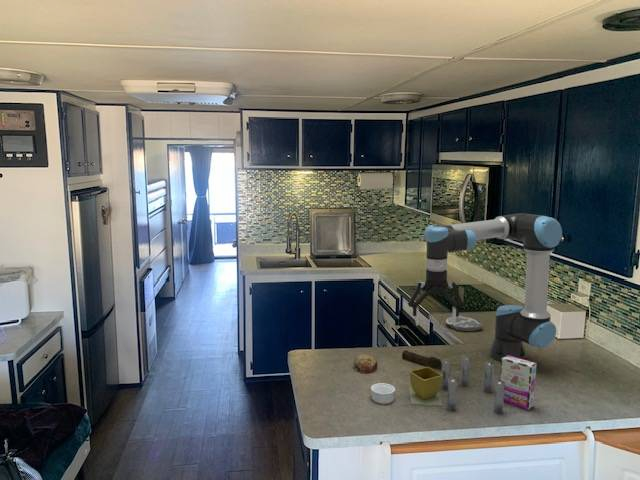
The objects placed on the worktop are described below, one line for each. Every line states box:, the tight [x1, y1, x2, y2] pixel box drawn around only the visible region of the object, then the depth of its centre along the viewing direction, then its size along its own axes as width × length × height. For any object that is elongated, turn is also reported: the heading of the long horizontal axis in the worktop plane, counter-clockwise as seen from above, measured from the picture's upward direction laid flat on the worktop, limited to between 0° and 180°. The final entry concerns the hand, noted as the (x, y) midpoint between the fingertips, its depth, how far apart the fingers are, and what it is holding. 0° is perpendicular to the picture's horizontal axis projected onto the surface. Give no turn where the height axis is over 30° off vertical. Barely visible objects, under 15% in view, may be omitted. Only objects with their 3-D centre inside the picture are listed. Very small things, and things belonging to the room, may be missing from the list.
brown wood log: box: [401, 349, 442, 371], centre depth 218 cm, size 19×4×5 cm, turn 45°
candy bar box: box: [499, 355, 538, 411], centre depth 183 cm, size 11×5×16 cm, turn 45°
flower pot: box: [409, 366, 443, 399], centre depth 188 cm, size 9×9×9 cm
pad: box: [408, 386, 443, 407], centre depth 189 cm, size 11×13×1 cm
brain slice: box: [445, 315, 484, 333], centre depth 265 cm, size 20×17×3 cm
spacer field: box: [440, 356, 505, 415], centre depth 188 cm, size 19×23×11 cm
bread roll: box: [353, 353, 378, 374], centre depth 214 cm, size 10×10×8 cm
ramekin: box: [370, 382, 396, 405], centre depth 187 cm, size 9×9×4 cm
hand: (435, 324), depth 191 cm, fingers open, 13 cm apart
